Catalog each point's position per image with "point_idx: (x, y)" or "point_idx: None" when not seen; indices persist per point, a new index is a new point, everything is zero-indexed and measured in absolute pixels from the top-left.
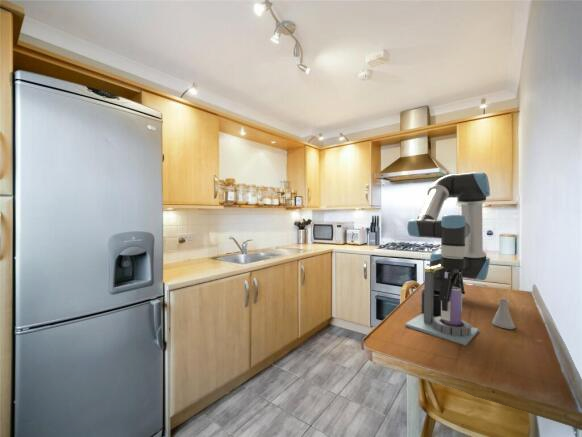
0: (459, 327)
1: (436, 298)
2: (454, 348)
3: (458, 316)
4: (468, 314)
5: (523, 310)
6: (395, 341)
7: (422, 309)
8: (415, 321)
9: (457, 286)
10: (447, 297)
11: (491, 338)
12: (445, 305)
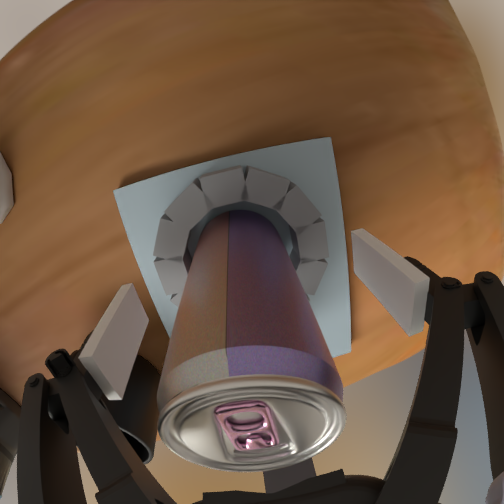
0: (276, 200)
1: (127, 416)
2: (385, 153)
3: (258, 235)
4: (17, 306)
5: None
6: (459, 279)
7: None
8: None
9: (115, 434)
10: (491, 289)
11: (140, 120)
12: (433, 277)
